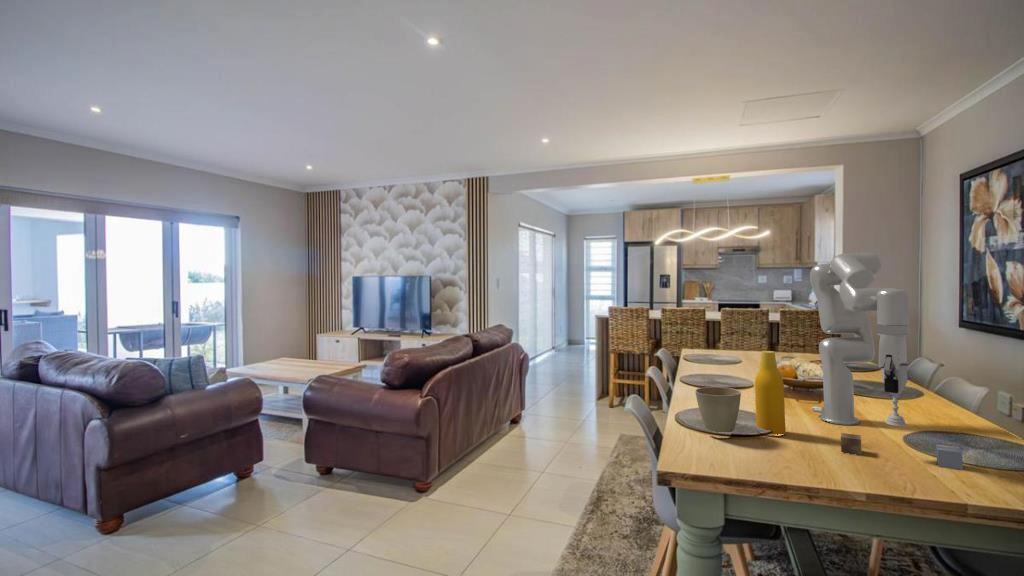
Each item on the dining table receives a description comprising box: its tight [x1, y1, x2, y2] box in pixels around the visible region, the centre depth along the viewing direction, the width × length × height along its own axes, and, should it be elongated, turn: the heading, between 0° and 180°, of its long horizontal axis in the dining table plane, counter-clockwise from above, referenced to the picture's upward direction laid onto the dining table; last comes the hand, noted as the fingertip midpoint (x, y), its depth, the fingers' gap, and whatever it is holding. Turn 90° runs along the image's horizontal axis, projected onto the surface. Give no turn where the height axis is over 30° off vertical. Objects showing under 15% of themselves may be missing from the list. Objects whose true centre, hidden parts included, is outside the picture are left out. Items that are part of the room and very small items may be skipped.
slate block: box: [935, 444, 964, 471], centre depth 136 cm, size 5×5×5 cm
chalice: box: [881, 362, 910, 427], centre depth 144 cm, size 7×7×18 cm
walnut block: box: [840, 432, 862, 456], centre depth 150 cm, size 5×5×5 cm
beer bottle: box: [754, 350, 787, 435], centre depth 171 cm, size 9×9×29 cm
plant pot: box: [694, 386, 742, 432], centre depth 170 cm, size 15×15×16 cm
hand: (894, 389), depth 144 cm, fingers closed on chalice, 6 cm apart
